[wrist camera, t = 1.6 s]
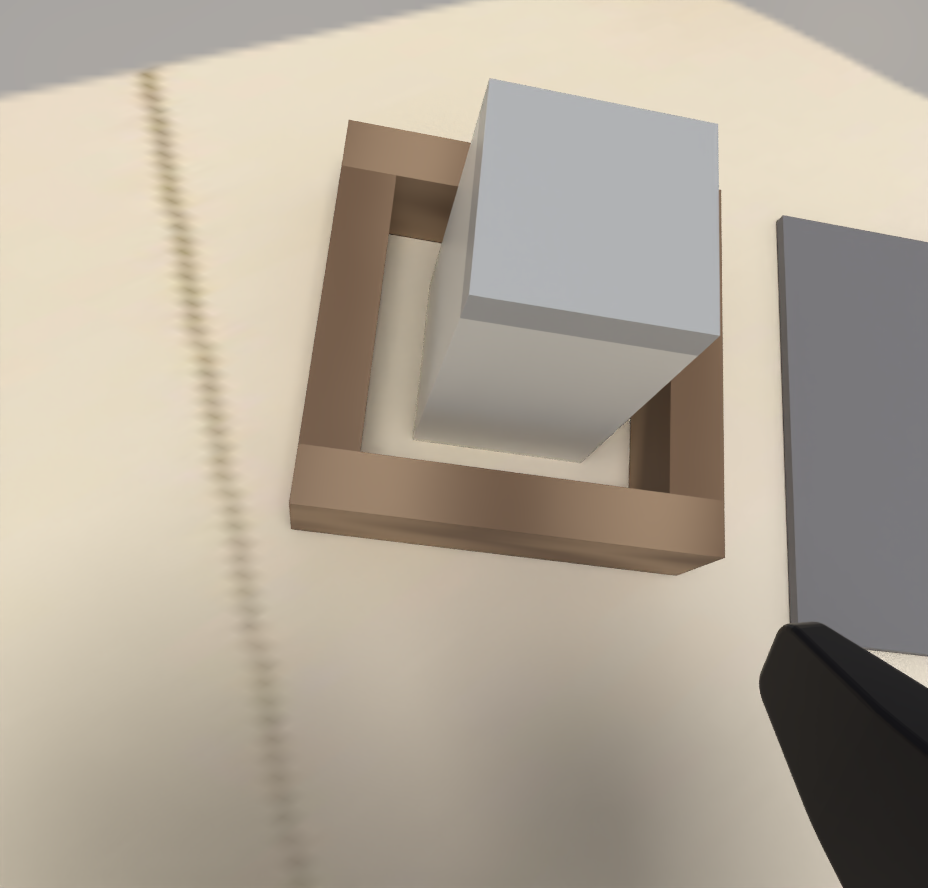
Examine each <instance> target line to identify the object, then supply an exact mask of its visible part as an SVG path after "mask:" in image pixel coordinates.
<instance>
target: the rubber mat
mask: <svg viewBox="0 0 928 888" xmlns="http://www.w3.org/2000/svg"><path fill="white" fill-rule="evenodd" d="M777 244H778V273H779V302H780V332H781V361H782V390H783V419H784V448H785V478H786V507H787V536H788V565H789V594H790V624H791V623H801V622H813V621H814V622H820V623H823V624H824V625H826V626H828V627H830V628H831V629H833V630H835V631H836V632H838V633H839V634H841V635H843V636H844V637H846V638H847V639H849V640H851V641H852V642H854V643H856V644H857V645H859V646H860V647H862V648H864V649H866V650H875V651H884V652H893V653H902V654H911V655H920V656H928V242H923V241H918V240H913V239H907V238H902V237H896V236H891V235H886V234H880V233H875V232H870V231H864V230H859V229H854V228H848V227H843V226H838V225H832V224H827V223H821V222H816V221H811V220H805V219H800V218H795V217H789V216H784V215H783V216H782V217H781V218H780V219H779V220H778V221H777Z"/></svg>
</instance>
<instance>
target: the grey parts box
mask: <svg viewBox="0 0 928 888" xmlns="http://www.w3.org/2000/svg"><path fill="white" fill-rule="evenodd" d="M719 336H720V274H719V173H718V124H715V123H710V122H705V121H700V120H695V119H690V118H685V117H680V116H675V115H670V114H665V113H660V112H655V111H650V110H645V109H640V108H635V107H630V106H625V105H620V104H615V103H610V102H606V101H601V100H596V99H591V98H586V97H581V96H576V95H571V94H566V93H561V92H556V91H551V90H546V89H541V88H536V87H531V86H526V85H521V84H516V83H511V82H506V81H501V80H496V79H491V78H489V82H488V85H487V89H486V92H485V96H484V99H483V103H482V106H481V110H480V113H479V117H478V120H477V123H476V127H475V130H474V134H473V137H472V141H471V144H470V148H469V151H468V155H467V158H466V162H465V165H464V168H463V172H462V175H461V179H460V182H459V186H458V189H457V193H456V196H455V200H454V203H453V207H452V210H451V213H450V217H449V220H448V224H447V227H446V231H445V234H444V238H443V241H442V245H441V248H440V251H439V255H438V258H437V262H436V265H435V269H434V272H433V276H432V279H431V283H430V288H429V297H428V306H427V315H426V324H425V333H424V342H423V351H422V360H421V368H420V377H419V386H418V395H417V404H416V413H415V422H414V431H413V440H418V441H425V442H432V443H439V444H447V445H454V446H461V447H468V448H476V449H483V450H490V451H497V452H505V453H512V454H519V455H526V456H534V457H541V458H548V459H555V460H563V461H570V462H577V463H581V462H582V461H583V460H584V459H585V458H586V457H587V456H589V455H590V454H591V453H592V452H593V451H594V450H595V449H596V448H597V447H598V446H600V445H601V444H602V443H603V442H604V441H605V440H606V439H607V438H608V437H609V436H611V435H612V434H613V433H614V432H615V431H616V430H617V429H618V428H619V427H620V426H622V425H623V424H624V423H625V422H626V421H627V420H628V419H629V418H630V417H631V416H633V415H634V414H635V413H636V412H637V411H638V410H639V409H640V408H641V407H642V406H643V405H645V404H646V403H647V402H648V401H649V400H650V399H651V398H652V397H653V396H654V395H656V394H657V393H658V392H659V391H660V390H661V389H662V388H663V387H664V386H665V385H667V384H668V383H669V382H670V381H671V380H672V379H673V378H674V377H675V376H676V375H678V374H679V373H680V372H681V371H682V370H683V369H684V368H685V367H686V366H687V365H689V364H690V363H691V362H692V361H693V360H694V359H695V358H696V357H697V356H698V355H700V354H701V353H702V352H703V351H704V350H705V349H706V348H707V347H708V346H709V345H710V344H712V343H713V342H714V341H715V340H716V339H717V338H718V337H719Z"/></svg>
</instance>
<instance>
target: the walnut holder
mask: <svg viewBox="0 0 928 888" xmlns="http://www.w3.org/2000/svg"><path fill="white" fill-rule="evenodd" d="M470 144H471V143H469V142H463V141H458V140H453V139H448V138H442V137H437V136H432V135H426V134H421V133H416V132H411V131H405V130H400V129H395V128H389V127H384V126H379V125H374V124H368V123H363V122H358V121H352V120H349V122H348V128H347V135H346V141H345V148H344V154H343V161H342V167H341V173H340V180H339V186H338V193H337V199H336V205H335V212H334V218H333V225H332V231H331V237H330V244H329V250H328V257H327V263H326V270H325V276H324V282H323V289H322V295H321V302H320V308H319V314H318V321H317V327H316V334H315V340H314V347H313V353H312V359H311V366H310V372H309V379H308V385H307V391H306V398H305V404H304V411H303V417H302V424H301V430H300V436H299V443H298V449H297V456H296V462H295V468H294V475H293V481H292V488H291V494H290V500H289V509H290V521H291V529H295V530H304V531H312V532H320V533H328V534H337V535H345V536H353V537H362V538H370V539H378V540H386V541H395V542H403V543H411V544H420V545H428V546H436V547H444V548H453V549H461V550H469V551H478V552H486V553H494V554H502V555H511V556H519V557H527V558H536V559H544V560H552V561H561V562H569V563H577V564H585V565H594V566H602V567H610V568H619V569H627V570H635V571H643V572H652V573H660V574H668V575H679V574H682V573H685V572H688V571H690V570H693V569H696V568H698V567H701V566H704V565H707V564H709V563H712V562H715V561H717V560H720V559H723V558H725V525H724V430H723V334H722V239H721V190H719V274H720V336H719V337H718V338H717V339H716V340H715V341H714V342H713V343H712V344H710V345H709V346H708V347H707V348H706V349H705V350H704V351H703V352H702V353H701V354H700V355H698V356H697V357H696V358H695V359H694V360H693V361H692V362H691V363H690V364H689V365H687V366H686V367H685V368H684V369H683V370H682V371H681V372H680V373H679V374H678V375H676V376H675V377H674V378H673V379H672V380H671V381H670V382H669V383H668V384H667V385H665V386H664V387H663V388H662V389H661V390H660V391H659V392H658V393H657V394H656V395H654V396H653V397H652V398H651V399H650V400H649V401H648V402H647V403H646V404H645V405H643V406H642V407H641V408H640V409H639V410H638V411H637V412H636V413H635V414H634V415H633V416H631V432H630V471H629V488H625V487H618V486H610V485H603V484H595V483H588V482H580V481H573V480H566V479H558V478H551V477H543V476H536V475H529V474H521V473H514V472H506V471H499V470H491V469H484V468H477V467H469V466H462V465H454V464H447V463H439V462H432V461H425V460H417V459H410V458H402V457H395V456H387V455H380V454H373V453H365V452H360V449H361V442H362V434H363V426H364V419H365V411H366V404H367V396H368V388H369V381H370V373H371V365H372V358H373V350H374V343H375V335H376V327H377V320H378V312H379V305H380V297H381V289H382V282H383V274H384V266H385V259H386V251H387V244H388V236H389V234H395V235H400V236H406V237H412V238H418V239H424V240H430V241H435V242H441V243H442V241H443V238H444V234H445V231H446V227H447V224H448V220H449V217H450V213H451V210H452V207H453V203H454V200H455V196H456V193H457V189H458V186H459V182H460V179H461V175H462V172H463V168H464V165H465V162H466V158H467V155H468V151H469V148H470Z"/></svg>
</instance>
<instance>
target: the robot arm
mask: <svg viewBox="0 0 928 888" xmlns="http://www.w3.org/2000/svg"><path fill="white" fill-rule="evenodd" d="M759 689H760V694H761V698H762V701H763V703H764V706H765V708H766V711H767V713H768V716H769V718H770V721H771V724H772V726H773V729H774V731H775V734H776V736H777V739H778V741H779V744H780V746H781V749H782V752H783V754H784V757H785V759H786V762H787V764H788V767H789V769H790V772H791V774H792V777H793V779H794V782H795V785H796V787H797V790H798V792H799V795H800V797H801V800H802V802H803V805H804V807H805V810H806V812H807V814H808V817H809V819H810V821H811V824H812V826H813V828H814V830H815V832H816V835H817V837H818V839H819V841H820V843H821V845H822V847H823V849H824V851H825V853H826V855H827V857H828V859H829V861H830V863H831V865H832V867H833V869H834V871H835V873H836V875H837V877H838V879H839V881H840V883H841V885H842V887H843V888H928V688H927V687H925V686H923V685H922V684H920V683H919V682H917V681H915V680H914V679H912V678H910V677H909V676H907V675H906V674H904V673H902V672H901V671H899V670H898V669H896V668H894V667H893V666H891V665H889V664H888V663H886V662H885V661H883V660H881V659H880V658H878V657H877V656H875V655H873V654H872V653H870V652H868V651H867V650H865V649H864V648H862V647H860V646H859V645H857V644H856V643H854V642H852V641H851V640H849V639H847V638H846V637H844V636H843V635H841V634H839V633H838V632H836V631H835V630H833V629H831V628H830V627H828V626H826V625H824V624H823V623H820V622H814V621H813V622H801V623H791V624H786V625H784V626H783V627H781V628H780V629H779V631H778V632H777V634H776V637H775V639H774V642H773V644H772V646H771V649H770V651H769V654H768V656H767V659H766V661H765V663H764V666H763V668H762V671H761V673H760V679H759Z"/></svg>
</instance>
